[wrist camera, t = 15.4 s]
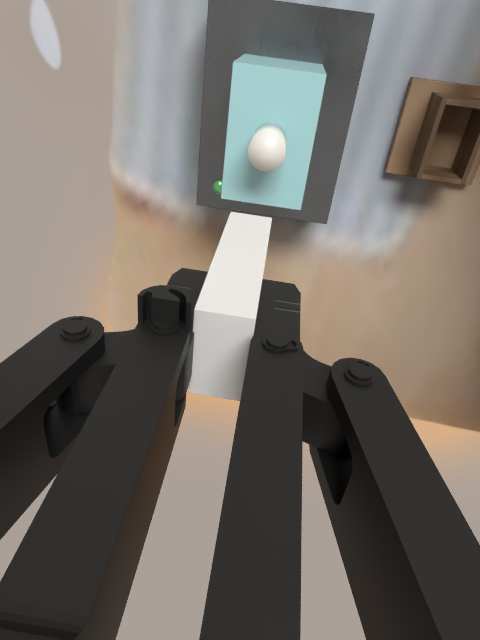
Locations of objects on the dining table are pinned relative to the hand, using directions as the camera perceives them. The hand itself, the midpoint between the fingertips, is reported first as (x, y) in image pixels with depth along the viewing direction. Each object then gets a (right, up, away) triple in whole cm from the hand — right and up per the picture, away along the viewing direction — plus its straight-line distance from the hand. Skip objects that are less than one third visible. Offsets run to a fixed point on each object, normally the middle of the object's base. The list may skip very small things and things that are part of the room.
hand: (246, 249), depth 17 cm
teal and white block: (+3, +16, +24) cm, 29 cm away
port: (+3, +17, +25) cm, 31 cm away
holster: (+18, +15, +25) cm, 34 cm away
